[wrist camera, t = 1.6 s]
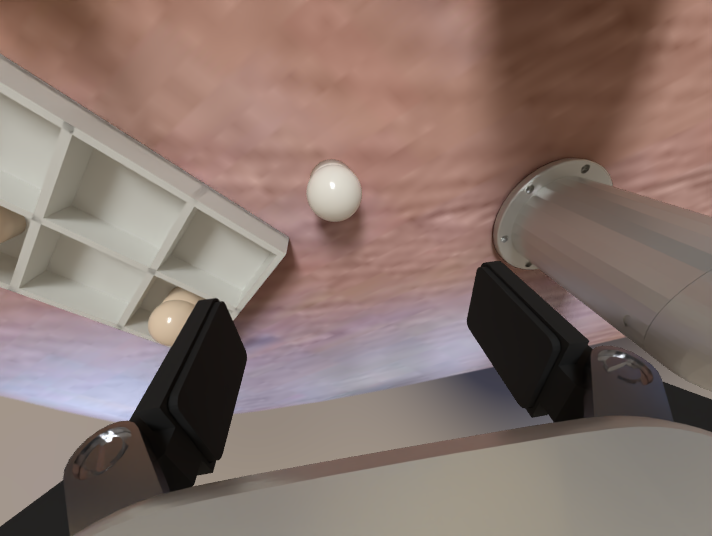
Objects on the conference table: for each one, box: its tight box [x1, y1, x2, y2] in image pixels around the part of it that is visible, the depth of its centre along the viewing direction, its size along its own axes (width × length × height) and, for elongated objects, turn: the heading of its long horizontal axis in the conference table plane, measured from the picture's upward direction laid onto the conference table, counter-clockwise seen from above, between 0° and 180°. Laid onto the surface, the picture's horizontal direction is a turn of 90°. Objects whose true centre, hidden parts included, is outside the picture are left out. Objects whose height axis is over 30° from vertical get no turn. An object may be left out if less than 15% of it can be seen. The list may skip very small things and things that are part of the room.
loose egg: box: [306, 159, 362, 222], centre depth 23 cm, size 5×5×6 cm
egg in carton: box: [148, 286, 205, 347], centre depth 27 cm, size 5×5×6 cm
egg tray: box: [0, 54, 289, 348], centre depth 24 cm, size 25×17×4 cm
